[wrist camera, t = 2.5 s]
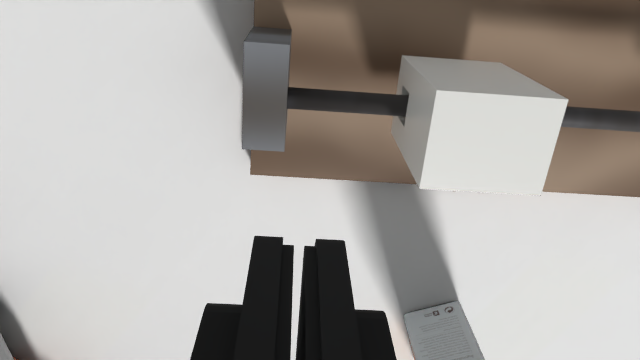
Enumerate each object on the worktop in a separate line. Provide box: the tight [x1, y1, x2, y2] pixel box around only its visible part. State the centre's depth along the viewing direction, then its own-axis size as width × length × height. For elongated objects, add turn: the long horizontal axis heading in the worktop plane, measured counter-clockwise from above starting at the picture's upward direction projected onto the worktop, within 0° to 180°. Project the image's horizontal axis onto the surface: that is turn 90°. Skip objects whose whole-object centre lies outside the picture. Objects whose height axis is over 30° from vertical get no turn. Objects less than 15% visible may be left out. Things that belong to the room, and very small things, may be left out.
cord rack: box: [242, 0, 640, 197], centre depth 26 cm, size 12×30×8 cm, turn 85°
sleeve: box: [391, 55, 569, 196], centre depth 23 cm, size 4×5×7 cm
